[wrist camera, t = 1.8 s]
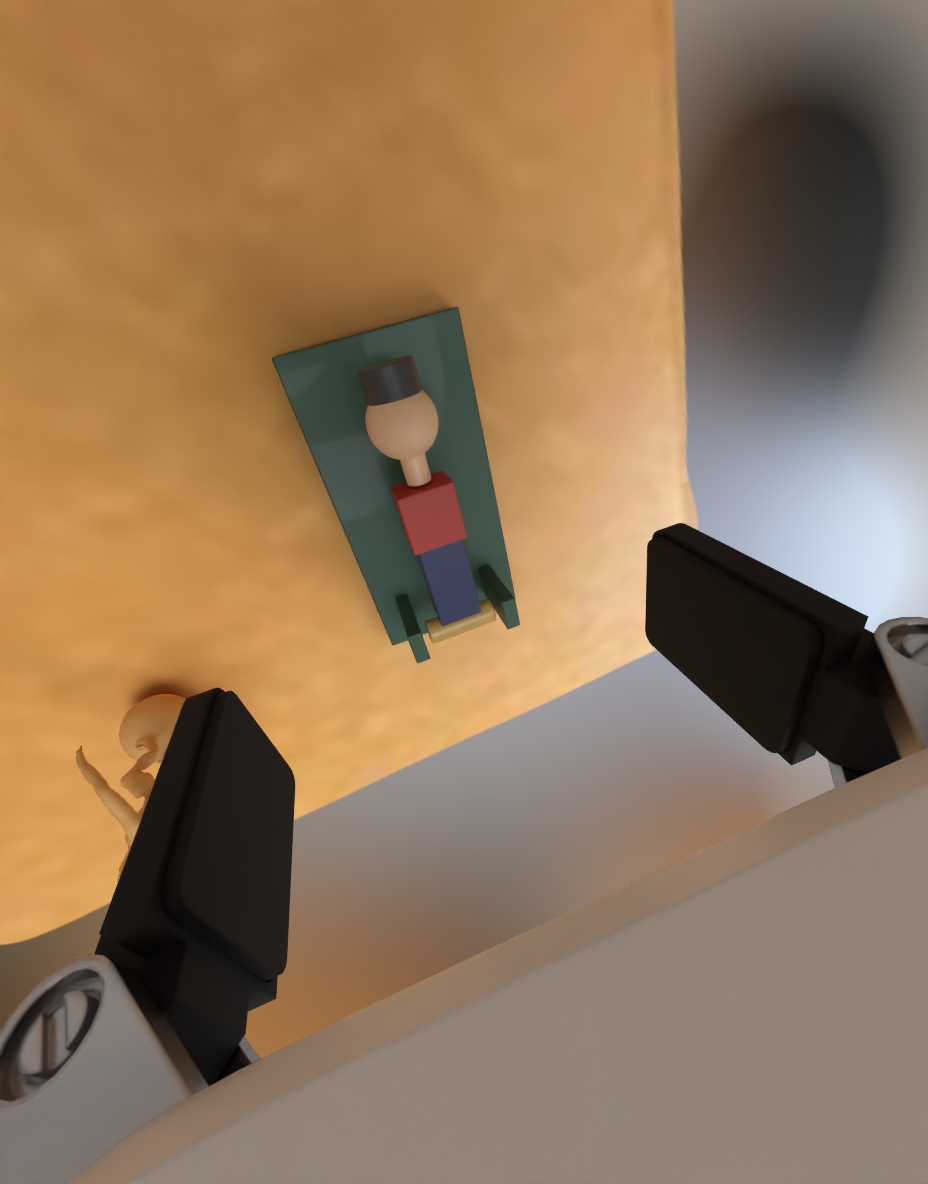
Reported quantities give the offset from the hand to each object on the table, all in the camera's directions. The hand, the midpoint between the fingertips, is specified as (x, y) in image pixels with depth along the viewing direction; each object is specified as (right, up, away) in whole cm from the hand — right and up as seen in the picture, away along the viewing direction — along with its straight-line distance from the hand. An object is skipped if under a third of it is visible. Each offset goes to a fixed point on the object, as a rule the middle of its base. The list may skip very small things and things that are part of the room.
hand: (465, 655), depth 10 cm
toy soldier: (-2, +6, +14) cm, 15 cm away
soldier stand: (-3, +7, +16) cm, 18 cm away
